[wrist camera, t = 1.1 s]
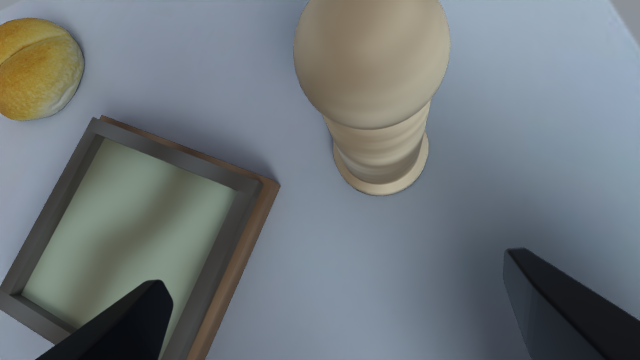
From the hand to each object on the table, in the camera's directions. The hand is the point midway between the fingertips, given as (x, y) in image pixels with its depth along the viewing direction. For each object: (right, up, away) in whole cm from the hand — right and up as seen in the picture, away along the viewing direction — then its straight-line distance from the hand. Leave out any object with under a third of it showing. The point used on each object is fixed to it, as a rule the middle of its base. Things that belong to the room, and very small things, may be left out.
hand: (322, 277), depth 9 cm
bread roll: (-24, +12, +23) cm, 35 cm away
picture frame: (-12, -2, +16) cm, 20 cm away
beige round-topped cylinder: (+4, +4, +15) cm, 16 cm away
